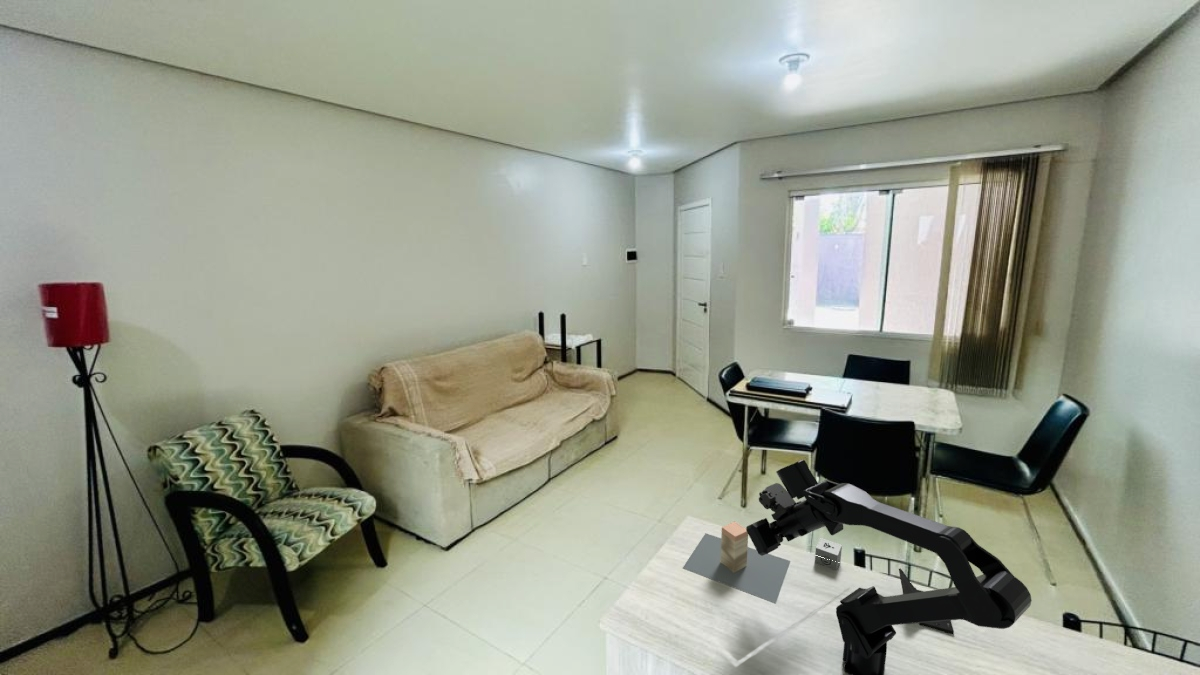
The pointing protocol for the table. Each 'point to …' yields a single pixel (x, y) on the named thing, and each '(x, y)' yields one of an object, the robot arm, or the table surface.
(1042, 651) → the table surface
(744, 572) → the slate mat
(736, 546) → the beech block
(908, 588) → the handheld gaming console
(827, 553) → the grey printed cube
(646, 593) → the table surface
